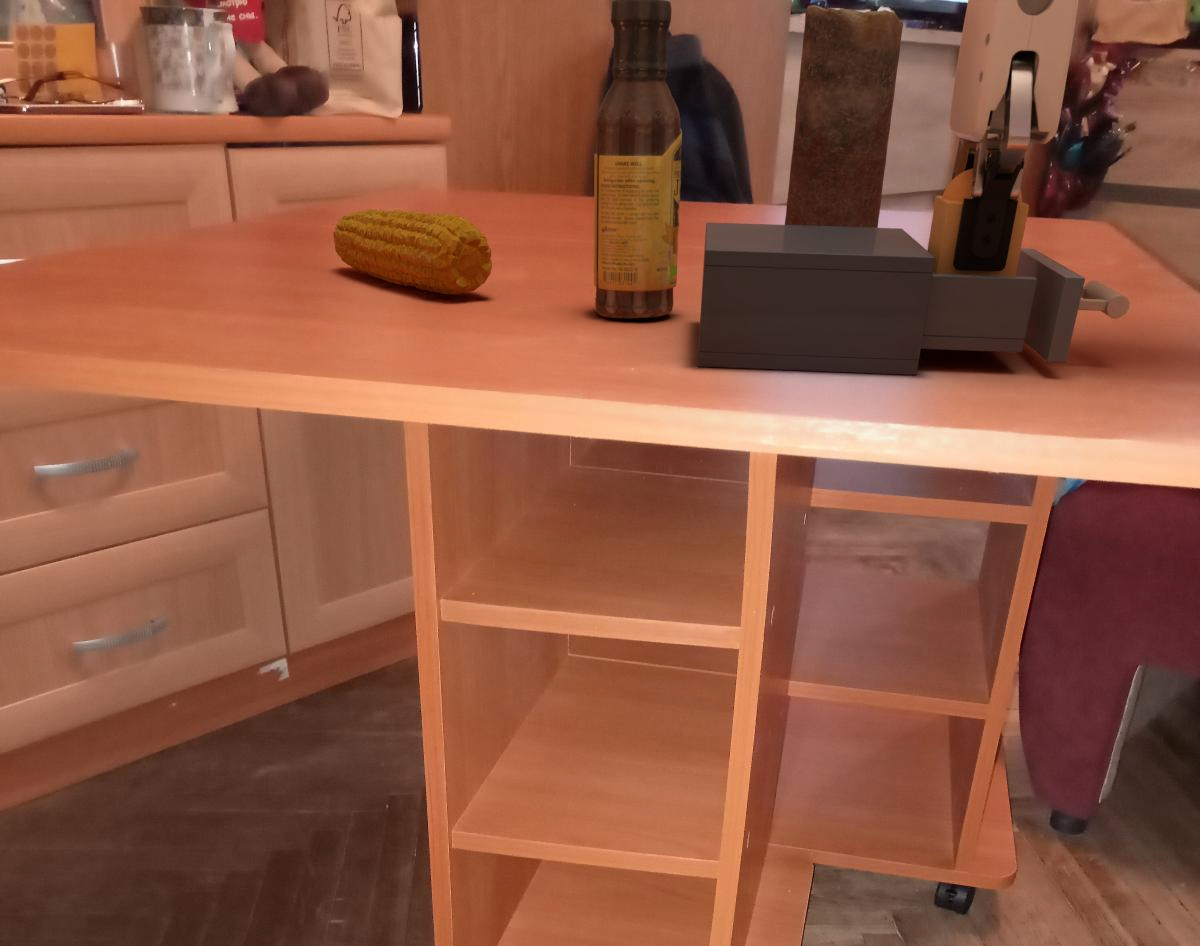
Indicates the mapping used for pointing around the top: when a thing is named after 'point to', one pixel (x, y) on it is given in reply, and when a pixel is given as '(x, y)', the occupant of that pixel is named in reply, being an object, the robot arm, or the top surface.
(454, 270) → the food
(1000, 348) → the drawer
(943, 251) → the orange container
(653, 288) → the sauce bottle
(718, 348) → the cabinet
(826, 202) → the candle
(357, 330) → the top surface
